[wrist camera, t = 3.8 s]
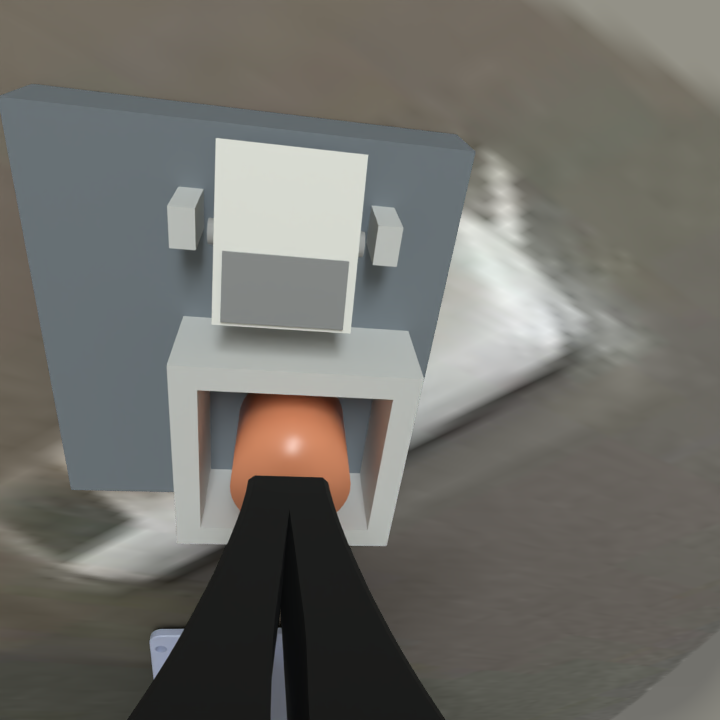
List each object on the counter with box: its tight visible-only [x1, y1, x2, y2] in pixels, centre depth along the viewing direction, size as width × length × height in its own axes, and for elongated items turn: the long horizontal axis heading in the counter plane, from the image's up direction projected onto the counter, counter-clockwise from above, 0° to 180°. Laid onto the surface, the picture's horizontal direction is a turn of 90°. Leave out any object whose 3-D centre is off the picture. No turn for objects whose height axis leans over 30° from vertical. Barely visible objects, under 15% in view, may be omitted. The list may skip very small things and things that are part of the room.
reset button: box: [230, 393, 351, 512], centre depth 17 cm, size 3×3×3 cm
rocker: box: [207, 138, 368, 334], centre depth 13 cm, size 4×4×1 cm
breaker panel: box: [0, 84, 475, 546], centre depth 17 cm, size 12×11×4 cm
